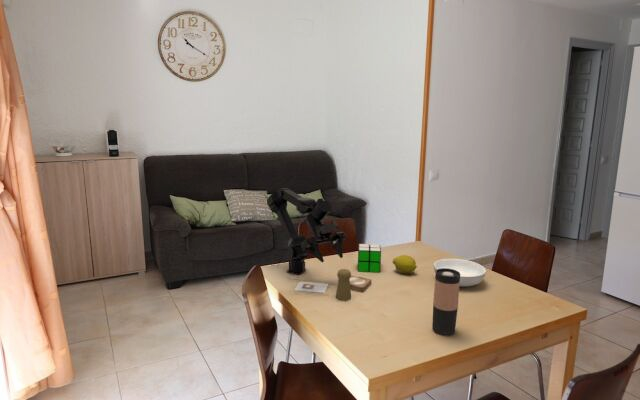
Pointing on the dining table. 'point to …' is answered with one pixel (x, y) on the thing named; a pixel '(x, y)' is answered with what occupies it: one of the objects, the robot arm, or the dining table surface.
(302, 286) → the white flat piece
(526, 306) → the dining table surface
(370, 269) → the puzzle cube
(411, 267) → the lemon
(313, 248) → the robot arm
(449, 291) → the travel mug
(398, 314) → the dining table surface
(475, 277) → the serving bowl
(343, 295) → the cork
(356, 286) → the plinth
